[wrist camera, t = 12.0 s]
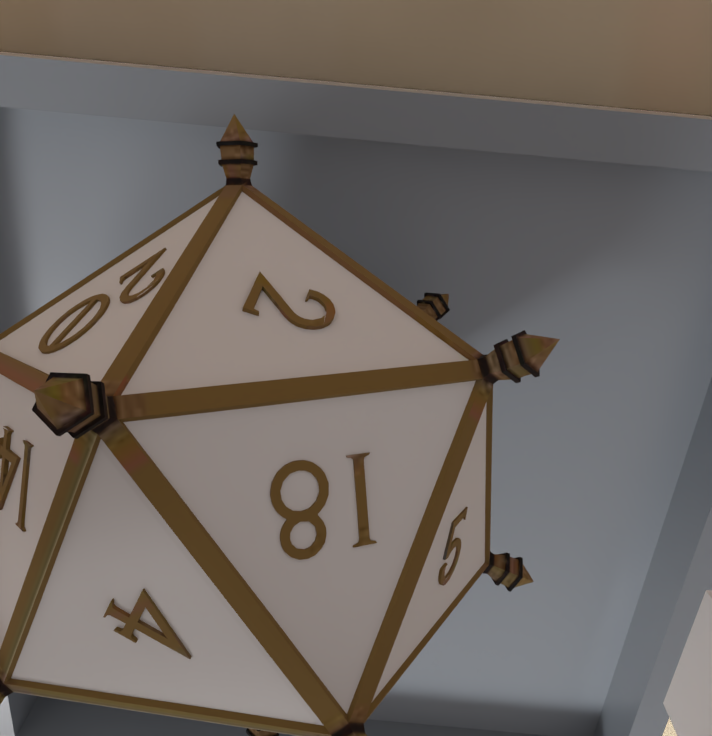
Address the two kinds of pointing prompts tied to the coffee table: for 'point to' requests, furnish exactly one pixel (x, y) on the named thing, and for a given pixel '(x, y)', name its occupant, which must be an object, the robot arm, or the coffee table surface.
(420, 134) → the square tray
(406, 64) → the coffee table surface
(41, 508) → the game die
